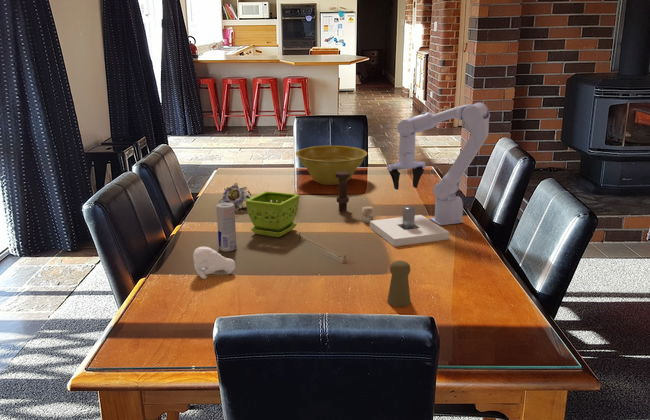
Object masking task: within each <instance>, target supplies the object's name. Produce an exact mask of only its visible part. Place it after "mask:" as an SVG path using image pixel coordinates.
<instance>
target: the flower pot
mask: <svg viewBox="0 0 650 420" xmlns="http://www.w3.org/2000/svg"><path fill="white" fill-rule="evenodd" d="M299 200H300V195H299V194H297V193H289V192H287V193H286V192H279V191H278V192H277V191H263V192H261V193H258V194H256V195H255V196H251V197H250V199H248V200H247V201H245V205H246V211H247V214H248V218H249V219H250V221H251V223H252V225H253V227H251V228H250V230H251V232H252V233H254V234H255V235H259V236H262V235H263V236H268V237H273V238H274V237H275V238H280V237H283V236H284V235H286V234H288V233H289V232H291V231H292V230H294V228H296V227H297V222H294V221H295V219H296V217H297V214H298V209H299V203H300V201H299Z"/></svg>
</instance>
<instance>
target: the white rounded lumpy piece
mask: <svg viewBox="0 0 650 420" xmlns="http://www.w3.org/2000/svg"><path fill="white" fill-rule="evenodd" d="M192 258H193V263H194V269H195V271H196V273H197V275H198V276H199V277H200V278H201V279H204V280H206V279H207V275H210V274H212V273H214V272H218V271H224V272H225V273H226V275H227V276H228V275H229V274H232V273H233V271H234V270H235V269H236V262H235V260H234V259H232V258H227V257H225V256H222V254H221V253H219V252H218V251H216V250H214V249H213V248H211V247H210V246H199V247H197V248H195V249H194V251H193V254H192Z"/></svg>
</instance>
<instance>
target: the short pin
mask: <svg viewBox="0 0 650 420" xmlns="http://www.w3.org/2000/svg"><path fill="white" fill-rule="evenodd" d="M373 220H374V207H372V206H367V205H366V206H363V207H362V209H361V223H365V224H370V221H373Z"/></svg>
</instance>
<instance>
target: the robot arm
mask: <svg viewBox="0 0 650 420" xmlns="http://www.w3.org/2000/svg"><path fill="white" fill-rule="evenodd" d="M490 117H491V113H490V111H489V108H488V106H487V105H486V104H485V103H483V102H475V103H469V104H464V105H459V106H455V107H453V108H450V109H447V110H443V111H441V112H438V113H435V114H434V113H432V112H430V111H428V112H427V111H426V110H425V111H422V112H421V114H419V115H416V116H414V115H412V116H409V118H406V119H402V120H401V121H399V122H398V123H397V125H396V126H397V128H396V130H397V132H398V134H399V141H398V142H399V143H398V162H396V163H392V164H387V165H386V170H387V171H388V173H389V175H390V177H391V180H392V183H393V188H394V189H395V190H396V191H398V190H399V189H400V187H399V186H400V177H401V176H400V175H401V172H399V171H400V170H412V187H414V188H415V189H416V188H418V185H419V182H420V179H421V178H422V176H423V174H424V172H425V169H426V162H424V161H415V159H416V158H415V157H416V133H420V132H424V131H428V130H431V129H433V128H435V126H436V124H438V123H442V122H445V121H448V120H452V119H457V120H458V121H463V122H464V124H465V125H466V126H467V127H468V129H469V132H470V137H469V138H468V139H467V141H466V143H465V145H464V146H463V147H462V149H461V151H460V152H459V154H458V155H457V158H456V159H455V160H454V162H453V164H452V165H451V167H450V168H449V170H448V172H446V174H445V175H444V176H443V177H442V179H441V180H440V181H439V182H437V183H436V184H435V185H434V186H433V190H432V191H433V195H434V196H435V203H434V204H435V205H434V217H429V220H430V221H432V222H434V223H435V224H437V225H439V226H447V225H453V224H454V225H455V224H461V223H462V224H463V223H464V220H463V212H464V203H463V199H462V198H461V197H460V196H457V194H456V193H457V192H458V191H459V188H460V183H461V181H462V177H463V175H465V172H466V171H467V170H468V167H469V166H470V165H471V163H473V160H474V159H475V157H476V155H477V154H478V152H479V151H480V149H481V148H482V146H483V145H484V143H485V142H486V140H487V139H488V137H489V134H490V133H489V129H490V128H489V127H490V126H489V124H490Z"/></svg>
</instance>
